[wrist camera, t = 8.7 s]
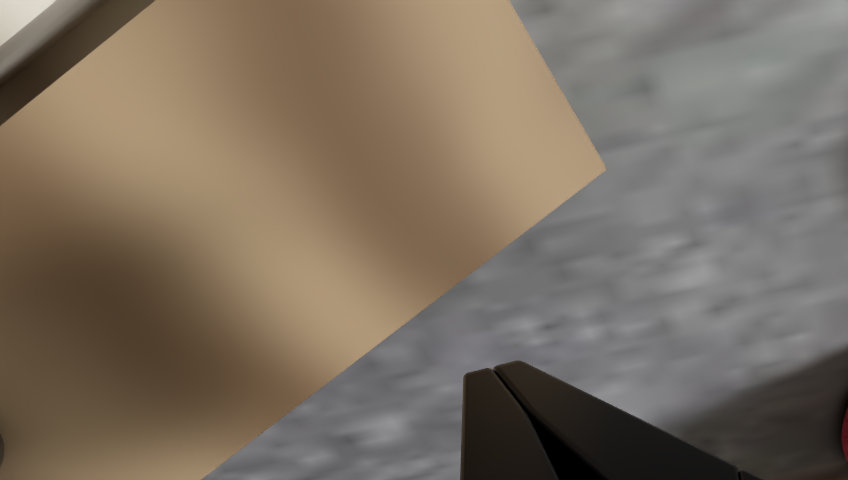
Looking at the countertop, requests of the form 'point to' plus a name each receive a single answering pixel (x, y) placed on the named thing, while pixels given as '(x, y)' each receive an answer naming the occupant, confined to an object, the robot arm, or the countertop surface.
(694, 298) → the countertop surface
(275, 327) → the door and jamb
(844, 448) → the wine bottle
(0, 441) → the latch bar
